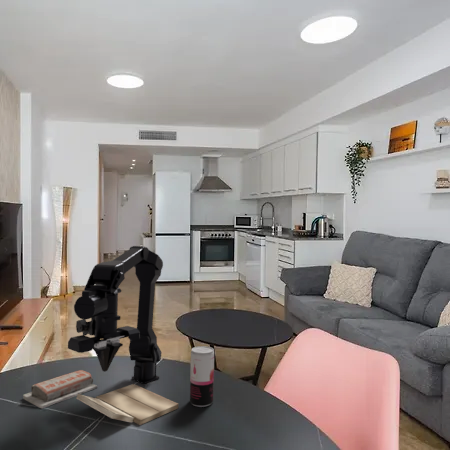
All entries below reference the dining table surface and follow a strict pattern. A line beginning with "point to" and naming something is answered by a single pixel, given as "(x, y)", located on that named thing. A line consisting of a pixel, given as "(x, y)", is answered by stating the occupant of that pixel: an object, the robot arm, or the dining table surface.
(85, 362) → the dining table surface
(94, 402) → the plank
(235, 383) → the dining table surface
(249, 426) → the dining table surface
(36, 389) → the packaged product
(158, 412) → the laid floor
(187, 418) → the dining table surface
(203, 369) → the beverage can
